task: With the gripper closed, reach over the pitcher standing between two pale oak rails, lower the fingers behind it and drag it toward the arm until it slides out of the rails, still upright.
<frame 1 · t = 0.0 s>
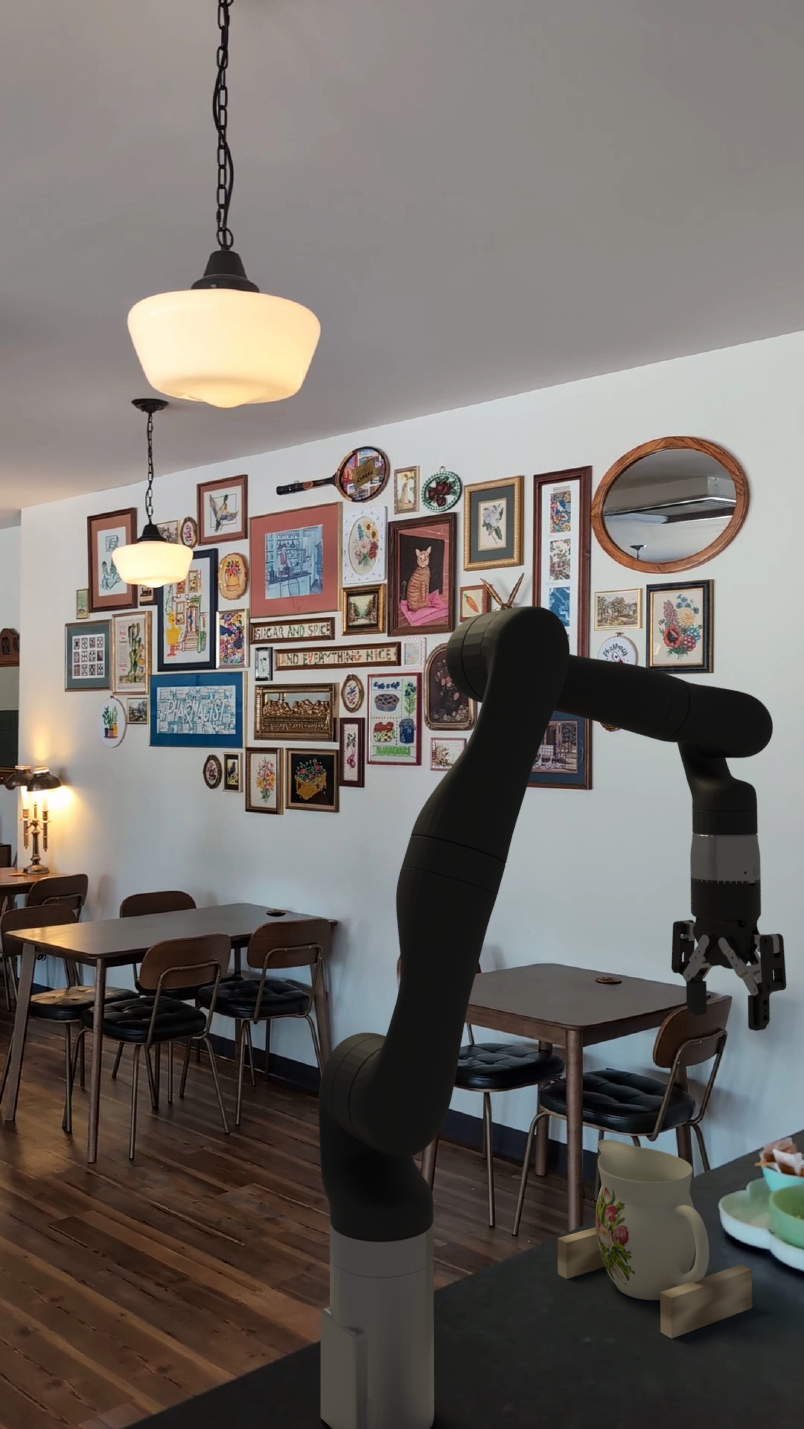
hand: (727, 1021, 129), 29 cm above the table, tool pointing down, fingers open, 8 cm apart
pitcher: (652, 1292, 128), on the table, touching oak rails
oak rails: (651, 1290, 128), on the table
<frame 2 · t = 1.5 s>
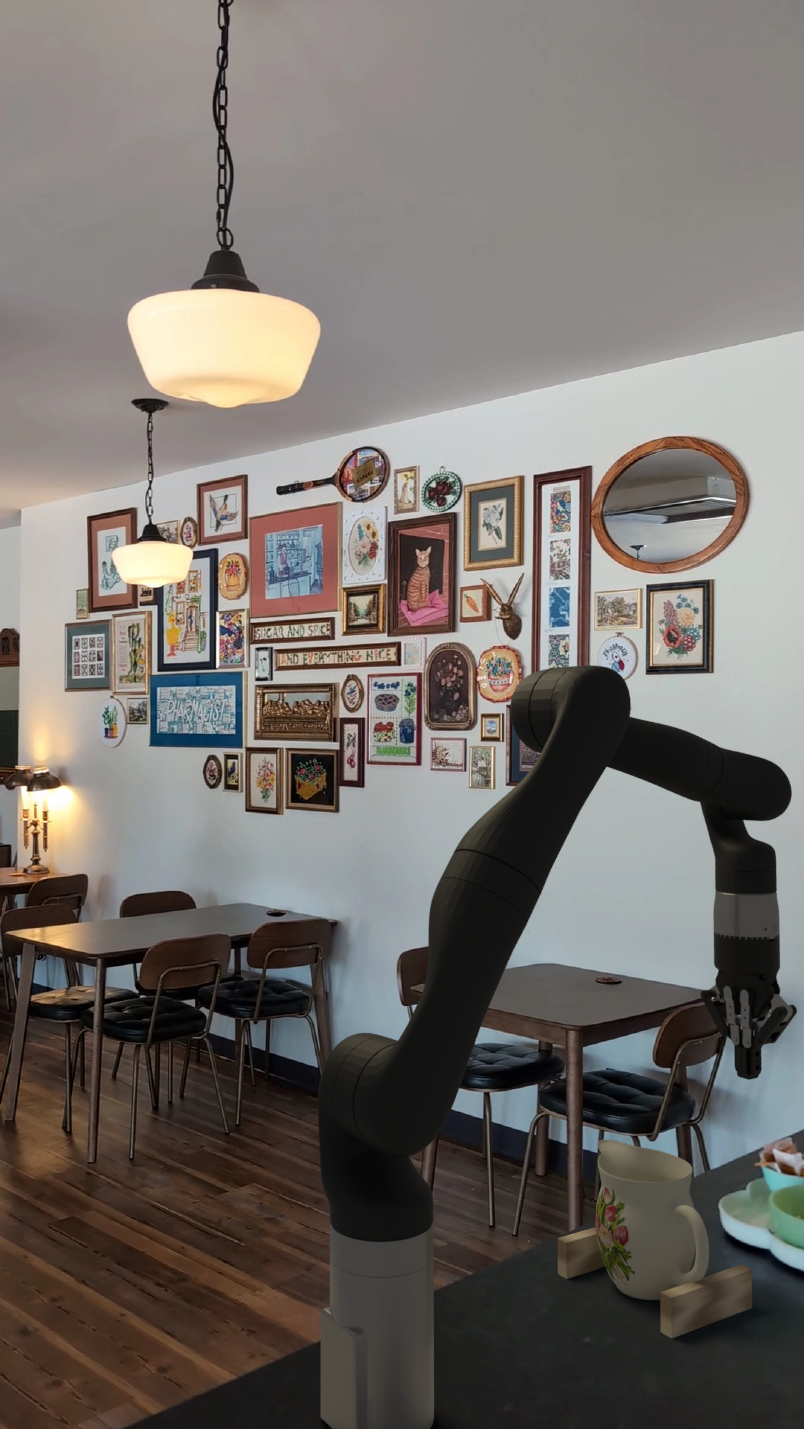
hand: (748, 1077, 137), 21 cm above the table, tool pointing down, fingers closed
nothing on the table moved.
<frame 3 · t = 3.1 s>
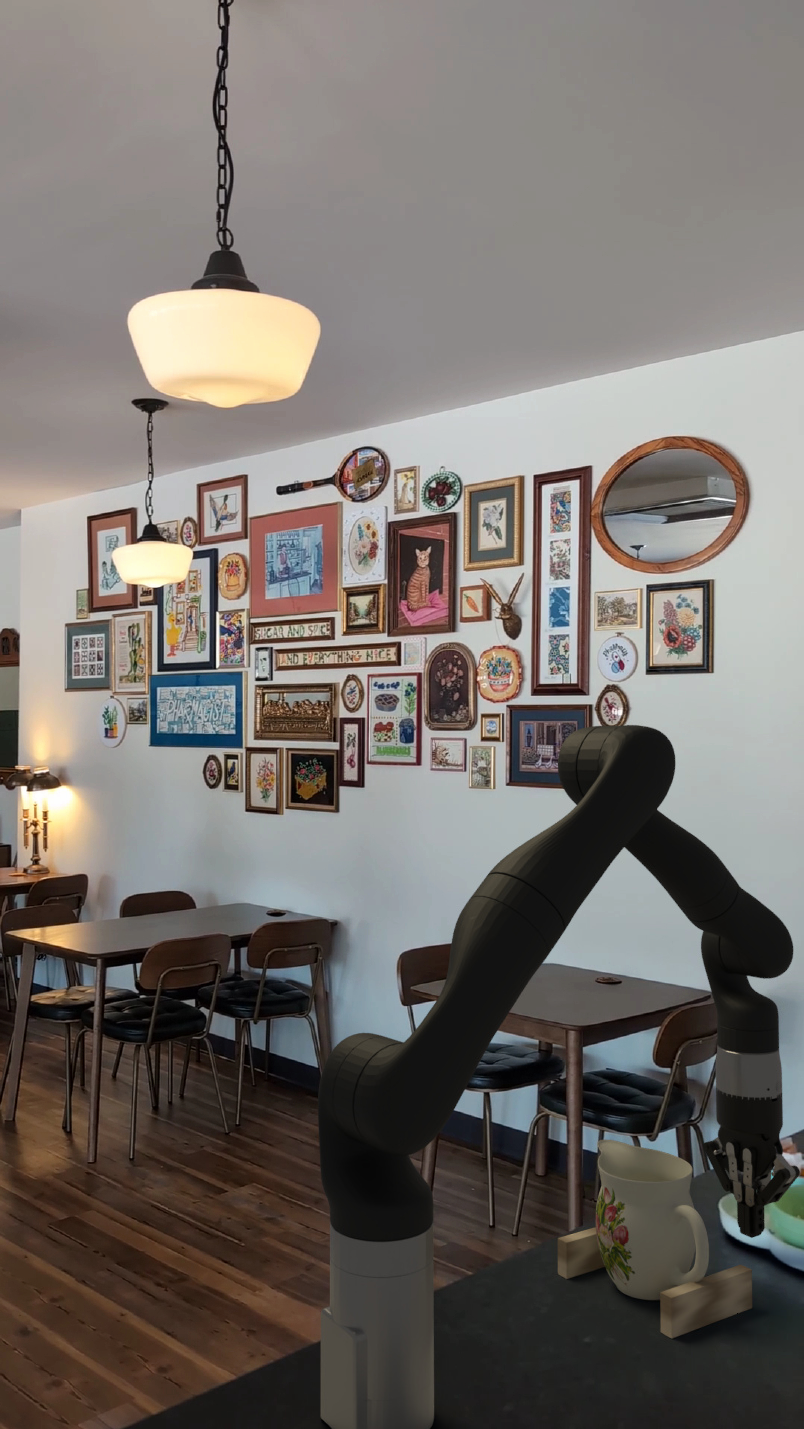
hand: (751, 1234, 137), 3 cm above the table, tool pointing down, fingers closed
nothing on the table moved.
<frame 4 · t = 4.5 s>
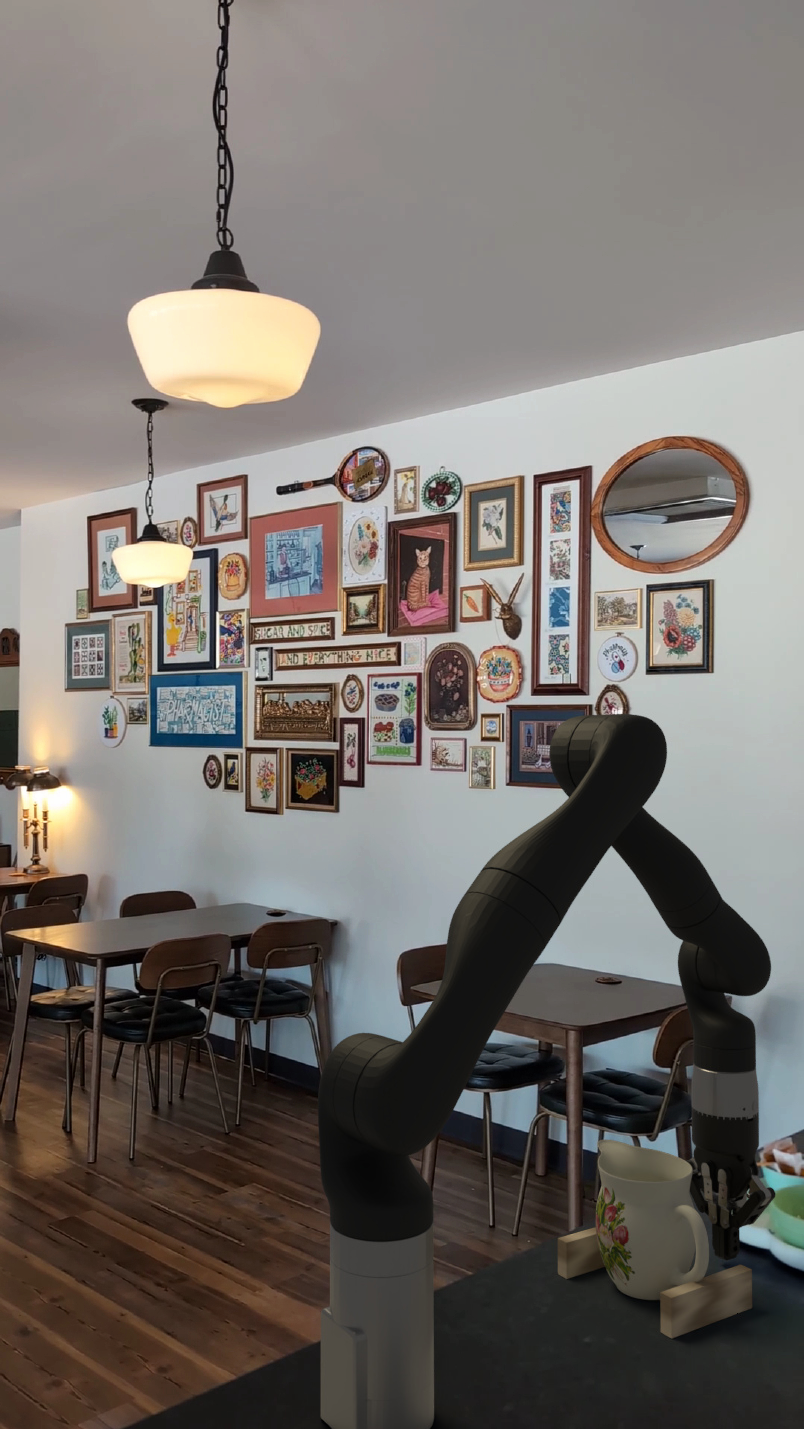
hand: (726, 1256, 134), 1 cm above the table, tool pointing down, fingers closed
nothing on the table moved.
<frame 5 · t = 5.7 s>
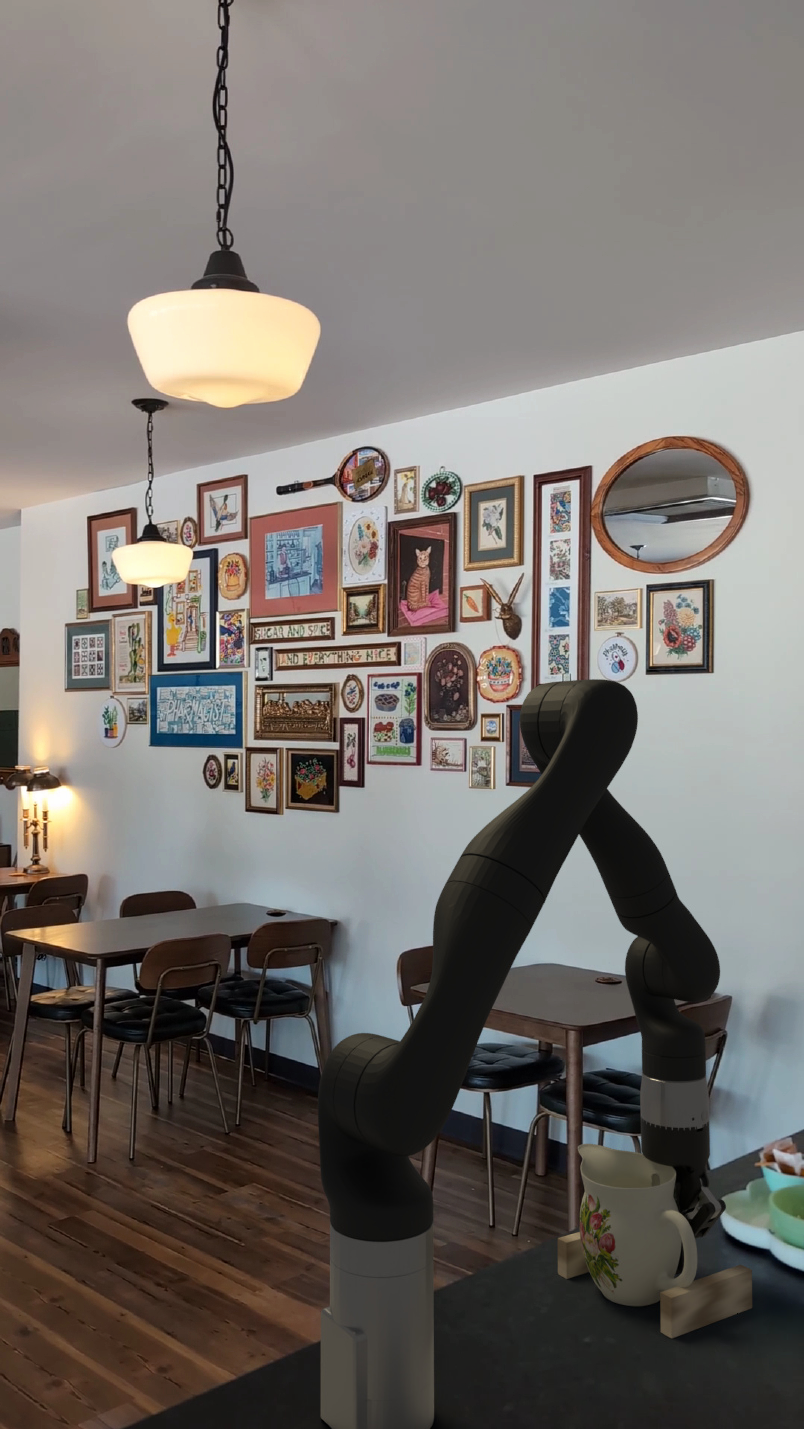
hand: (677, 1270, 130), 1 cm above the table, tool pointing down, fingers closed
pitcher: (638, 1297, 126), on the table, touching gripper, hand
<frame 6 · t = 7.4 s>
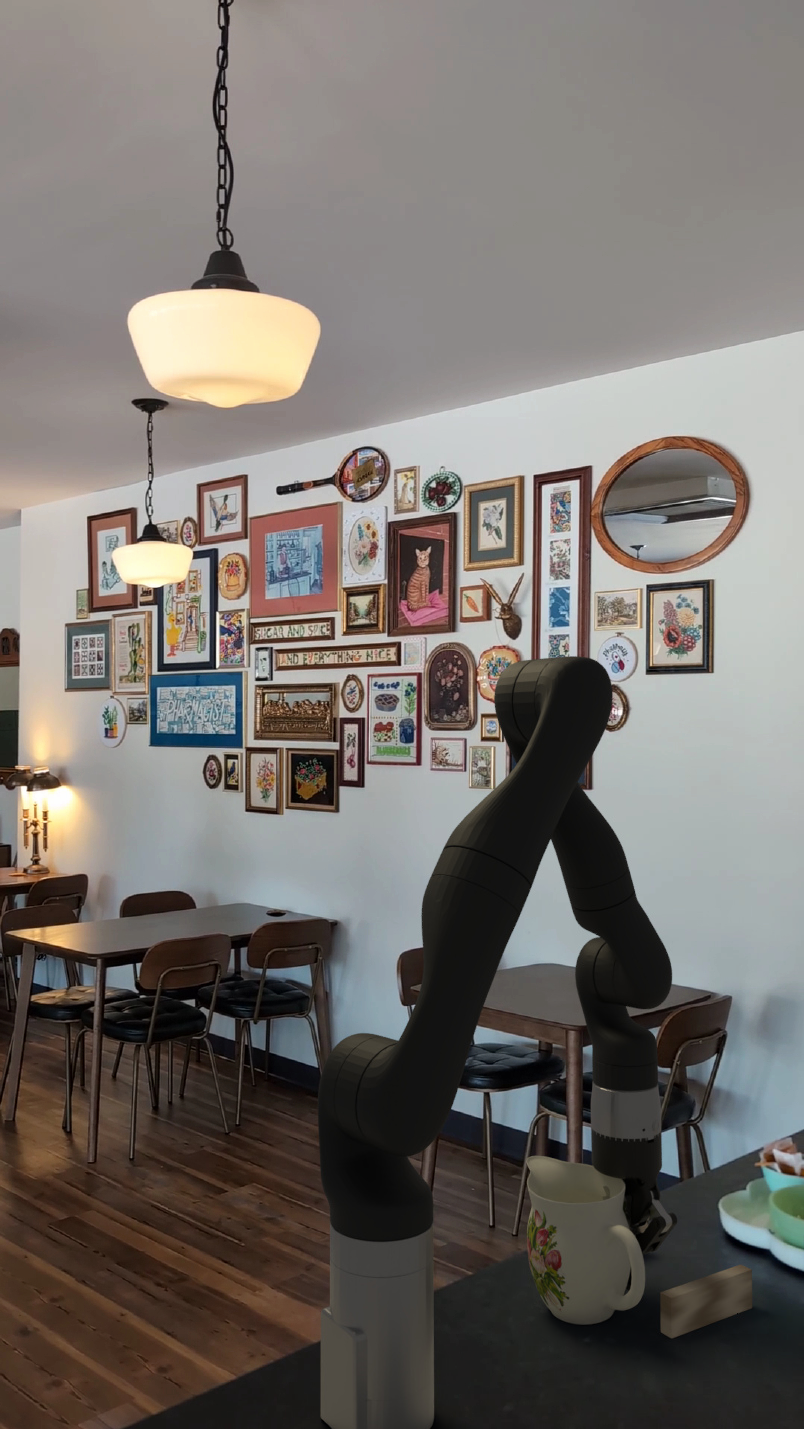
hand: (629, 1285, 126), 1 cm above the table, tool pointing down, fingers closed
pitcher: (587, 1314, 122), on the table, touching gripper, hand
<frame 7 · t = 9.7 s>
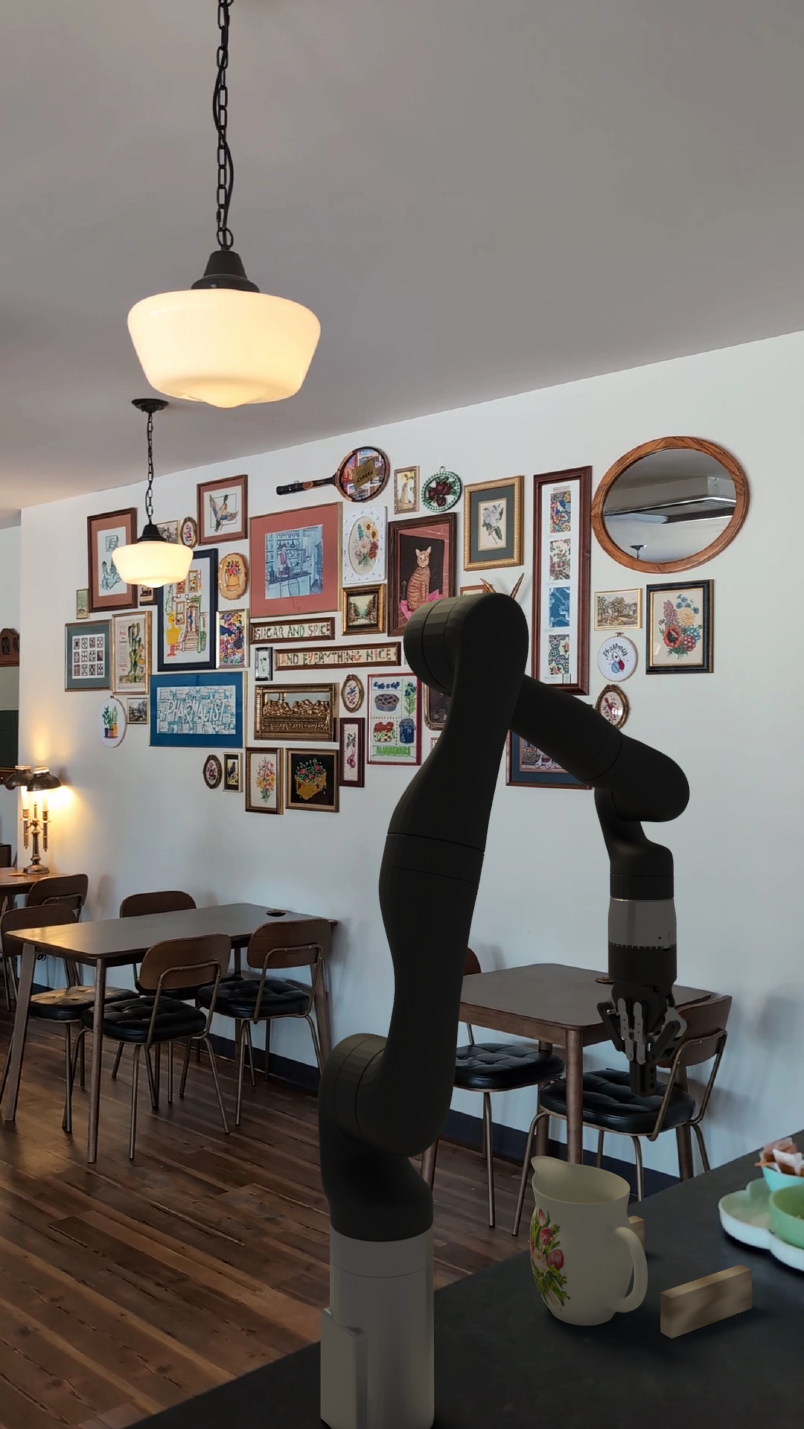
hand: (643, 1095, 129), 21 cm above the table, tool pointing down, fingers closed
pitcher: (587, 1316, 122), on the table
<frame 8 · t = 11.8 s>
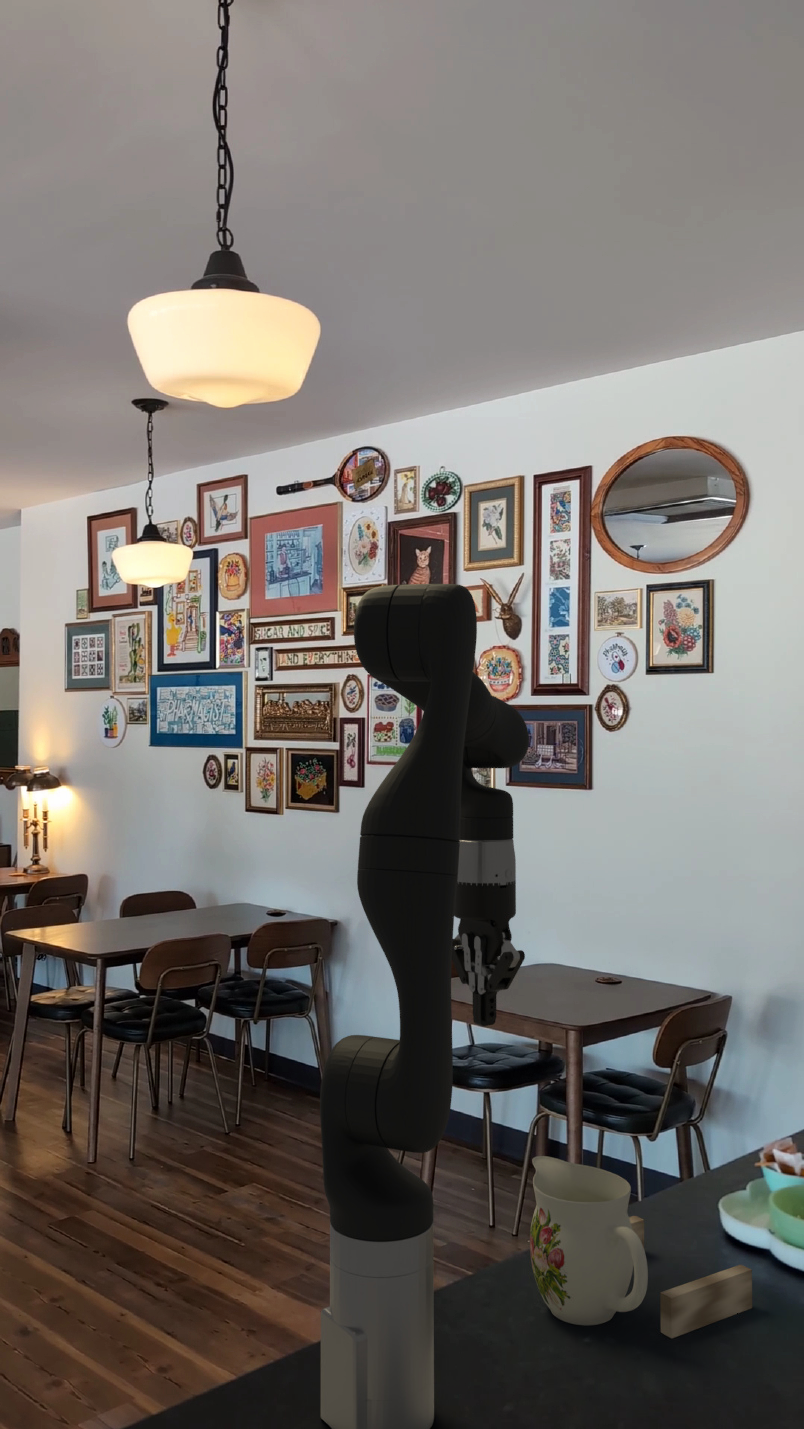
hand: (484, 1024, 138), 27 cm above the table, tool pointing down, fingers closed
nothing on the table moved.
at the end: pitcher inside the target area (6.4 cm from its centre), on the table; pitcher tilted 0°; pitcher moved 9.6 cm from its start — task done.
